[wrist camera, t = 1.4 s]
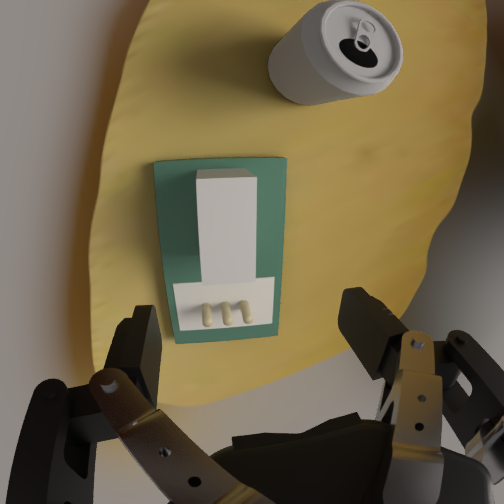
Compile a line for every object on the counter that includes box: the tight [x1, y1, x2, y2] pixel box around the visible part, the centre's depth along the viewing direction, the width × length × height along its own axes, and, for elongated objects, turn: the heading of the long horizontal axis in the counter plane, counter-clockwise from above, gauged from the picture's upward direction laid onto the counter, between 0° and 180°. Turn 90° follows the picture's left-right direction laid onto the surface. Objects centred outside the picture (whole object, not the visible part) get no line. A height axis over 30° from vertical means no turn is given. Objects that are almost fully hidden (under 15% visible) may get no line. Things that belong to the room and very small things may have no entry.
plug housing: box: [196, 168, 257, 286], centre depth 24 cm, size 8×4×6 cm, turn 0°
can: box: [268, 0, 403, 106], centre depth 18 cm, size 8×8×12 cm
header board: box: [154, 157, 287, 344], centre depth 27 cm, size 20×12×4 cm, turn 0°
